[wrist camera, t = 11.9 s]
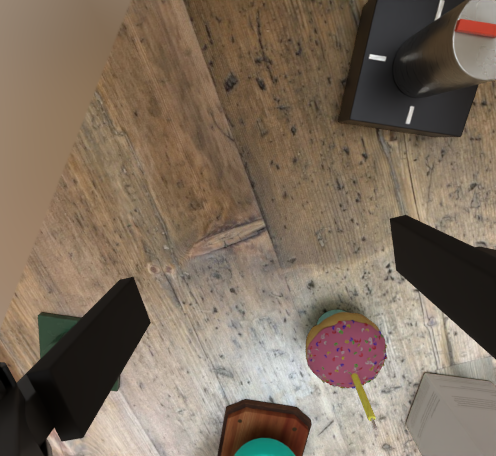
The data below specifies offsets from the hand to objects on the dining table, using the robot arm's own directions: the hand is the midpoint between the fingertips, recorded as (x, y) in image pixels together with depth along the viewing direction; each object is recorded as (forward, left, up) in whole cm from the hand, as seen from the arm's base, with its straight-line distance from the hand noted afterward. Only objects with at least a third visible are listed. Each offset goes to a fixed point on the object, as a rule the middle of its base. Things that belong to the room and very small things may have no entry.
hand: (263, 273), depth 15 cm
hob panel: (-14, +11, -18) cm, 26 cm away
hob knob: (-14, +11, -14) cm, 23 cm away
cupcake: (+14, +11, -18) cm, 26 cm away
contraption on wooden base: (+36, +4, -18) cm, 41 cm away
